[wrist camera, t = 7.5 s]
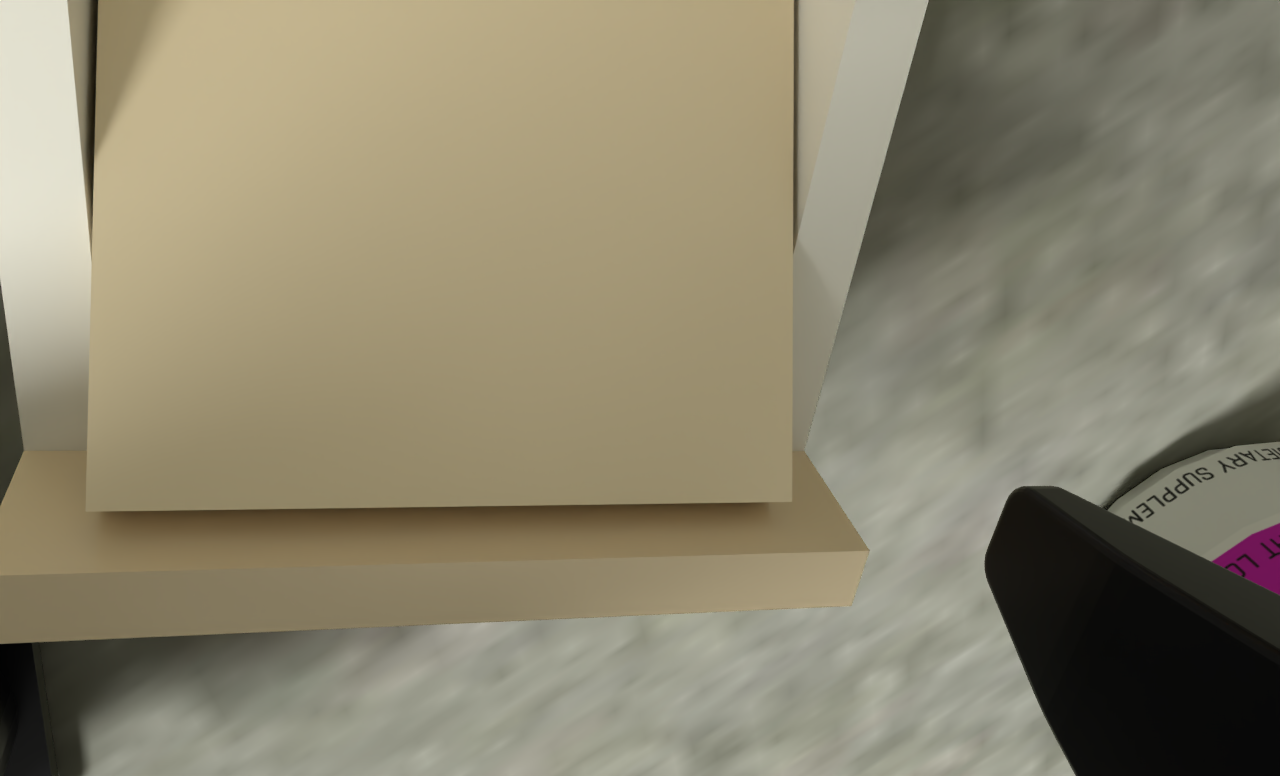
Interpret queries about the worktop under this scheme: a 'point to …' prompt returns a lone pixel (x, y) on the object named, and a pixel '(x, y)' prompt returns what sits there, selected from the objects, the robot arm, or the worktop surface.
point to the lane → (428, 306)
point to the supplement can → (1217, 509)
